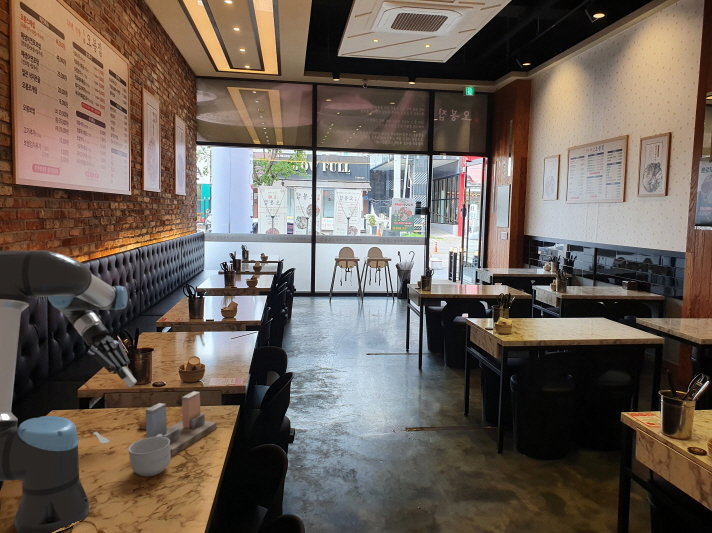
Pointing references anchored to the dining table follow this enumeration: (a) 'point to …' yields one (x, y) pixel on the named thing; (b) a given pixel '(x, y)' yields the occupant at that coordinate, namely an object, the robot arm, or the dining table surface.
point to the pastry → (144, 423)
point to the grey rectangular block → (156, 420)
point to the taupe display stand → (188, 433)
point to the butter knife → (101, 438)
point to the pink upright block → (190, 407)
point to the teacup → (150, 455)
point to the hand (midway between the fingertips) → (133, 384)
